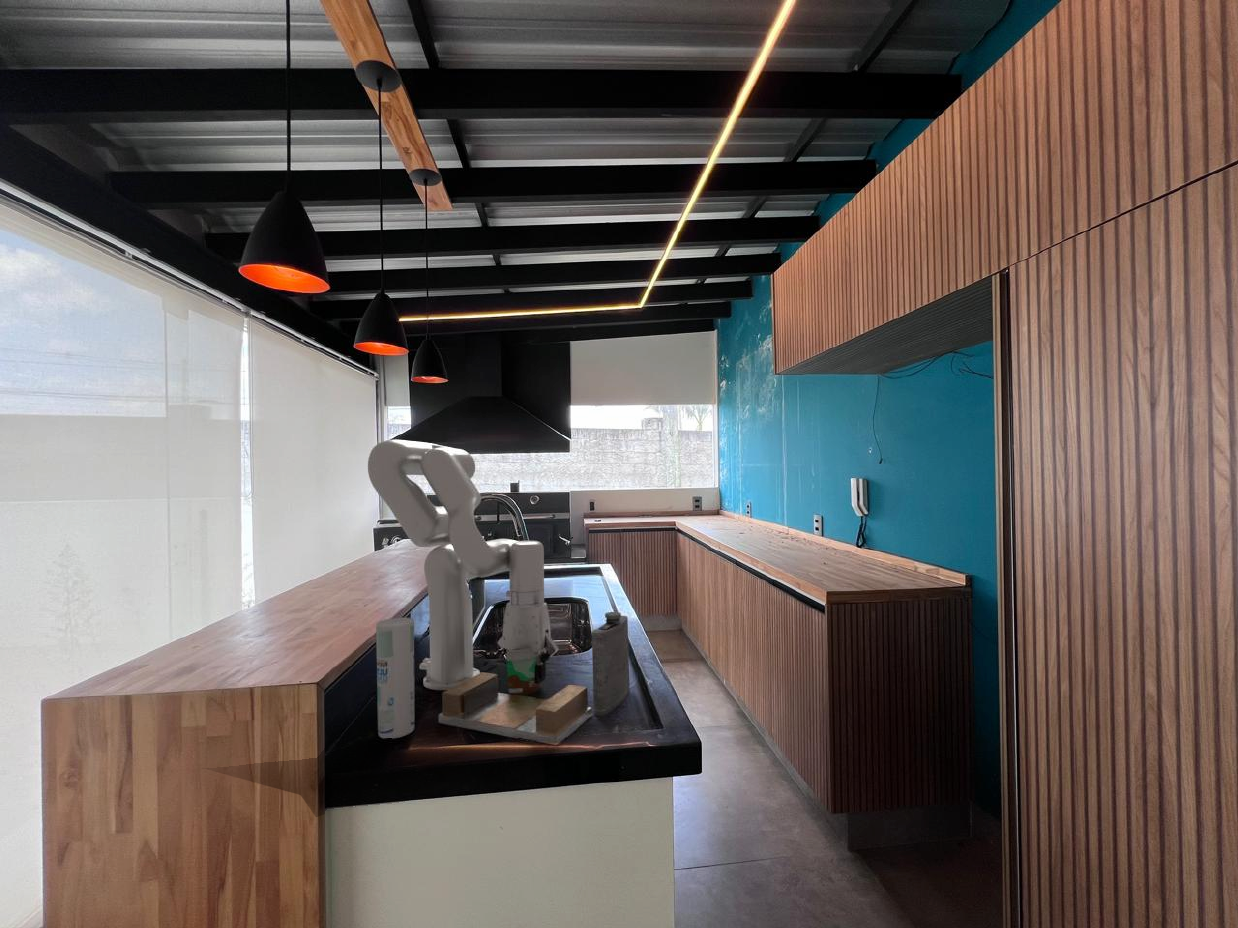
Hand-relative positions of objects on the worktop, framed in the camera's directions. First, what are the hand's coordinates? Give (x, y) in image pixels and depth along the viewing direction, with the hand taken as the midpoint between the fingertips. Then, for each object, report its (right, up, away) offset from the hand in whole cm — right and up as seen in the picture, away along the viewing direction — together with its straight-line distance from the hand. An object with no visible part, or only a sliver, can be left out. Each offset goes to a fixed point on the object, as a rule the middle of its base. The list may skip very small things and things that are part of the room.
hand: (527, 679), depth 119 cm
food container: (+1, -2, 0) cm, 2 cm away
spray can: (-21, -2, -19) cm, 28 cm away
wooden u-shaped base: (0, -1, -15) cm, 16 cm away
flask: (+19, -1, -8) cm, 21 cm away
